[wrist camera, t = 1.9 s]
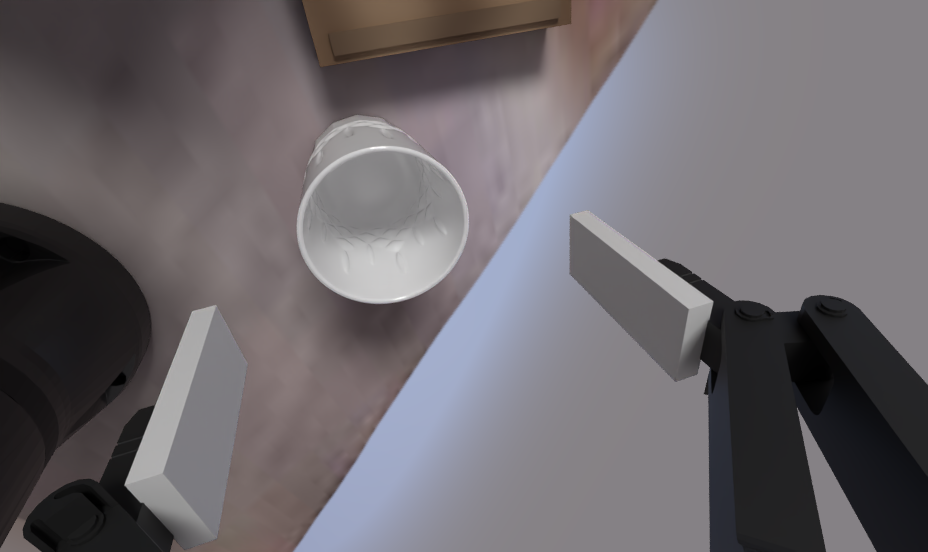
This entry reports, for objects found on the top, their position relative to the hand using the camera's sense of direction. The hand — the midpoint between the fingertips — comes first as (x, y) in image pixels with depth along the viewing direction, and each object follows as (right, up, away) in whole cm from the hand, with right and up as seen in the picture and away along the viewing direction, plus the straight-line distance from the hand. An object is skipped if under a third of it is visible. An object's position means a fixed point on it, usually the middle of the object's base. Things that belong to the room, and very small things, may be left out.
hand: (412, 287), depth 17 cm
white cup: (-5, +7, +12) cm, 15 cm away
